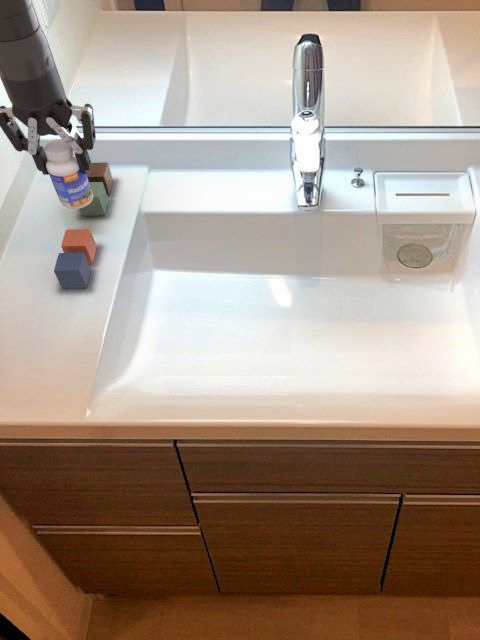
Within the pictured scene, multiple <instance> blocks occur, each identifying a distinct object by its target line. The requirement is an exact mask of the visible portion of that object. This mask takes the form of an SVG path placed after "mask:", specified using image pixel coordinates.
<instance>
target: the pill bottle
mask: <svg viewBox="0 0 480 640" xmlns="http://www.w3.org/2000/svg"><path fill="white" fill-rule="evenodd" d="M43 148H44V151H45V153H46V156H47V158H48V159H47V161H46V168H47V171H48V173H49V178H50V180H51V181H50V182H51V183H52V186H53V188H54V190H55V193H56V196H57V198H58V200H59V202H60V204H61V205H62V207H64V208H66V209H68V210H80V208H83V207H85V206H87V205H88V204H90V203H91V201H92V199H93V192H92V189H91V186H90V184H89V181H88V178H87V175H86V174H82V173H81V170H80V168H79V165H78V162H77V159H76V156H75V151H74V150H73V149H72V148H71V146H70V145H69V144H68V143H65V142H64V141H63V140H62V139H61V138H57V139H53V140H50V141H49V142H47V143H46V144H45V145H44V146H43Z"/></svg>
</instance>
